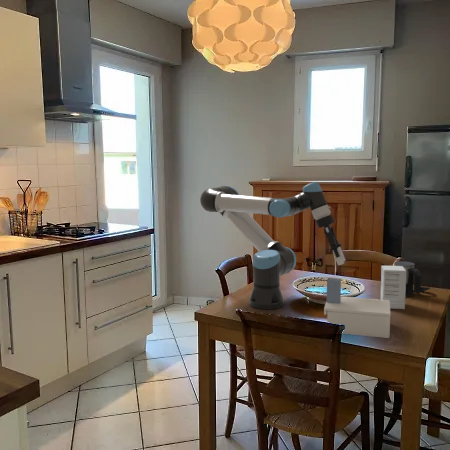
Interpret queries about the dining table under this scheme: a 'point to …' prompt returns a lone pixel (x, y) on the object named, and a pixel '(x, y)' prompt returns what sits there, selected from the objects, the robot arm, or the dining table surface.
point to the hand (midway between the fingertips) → (342, 263)
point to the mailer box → (361, 323)
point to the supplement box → (393, 286)
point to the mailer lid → (353, 302)
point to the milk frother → (409, 277)
